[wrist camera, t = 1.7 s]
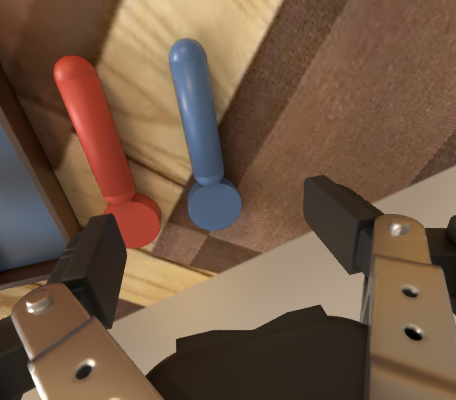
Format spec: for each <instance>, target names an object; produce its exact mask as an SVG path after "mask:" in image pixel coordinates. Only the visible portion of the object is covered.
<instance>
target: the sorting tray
mask: <svg viewBox="0 0 456 400" xmlns="http://www.w3.org/2000/svg"><path fill="white" fill-rule="evenodd" d="M79 231H83V230H82V228H81V226H80V224H79V222H78V220H77V218H76V216H75V214H74V212H73V210H72V208H71V206H70V204H69V202H68V200H67V198H66V195H65V193H64V191H63V189H62V187H61V185H60V183H59V181H58V179H57V177H56V175H55V173H54V171H53V169H52V167H51V165H50V163H49V161H48V159H47V157H46V155H45V153H44V151H43V149H42V147H41V145H40V143H39V141H38V139H37V137H36V135H35V133H34V131H33V128H32V126H31V124H30V122H29V120H28V118H27V116H26V114H25V112H24V110H23V108H22V106H21V104H20V102H19V100H18V98H17V96H16V94H15V92H14V90H13V88H12V86H11V84H10V82H9V80H8V78H7V76H6V74H5V72H4V70H3V68H2V66H1V64H0V290H4V289H8V288H13V287H17V286H22V285H26V284H30V283H35V282H39V281H44V280H48V279H49V277H50V275H51V273H52V272H53V270H54V268H55V266H56V264H57V262H58V261H59V260H60V257H61V255H62V253H63V252H65V248H66V246H67V244H68V242H69V241H70V240H71V239H72V238H73V237H74V236H75V235H76V234H77V233H78V232H79Z"/></svg>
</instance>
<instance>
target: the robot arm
mask: <svg viewBox="0 0 456 400" xmlns="http://www.w3.org/2000/svg"><path fill="white" fill-rule="evenodd" d="M303 212H304V217H305V220H306V222H307V224H308V225H309V226H310V227H311V229H312V230H313V231H314V232H315V233H316V235H317V236H318V237H319V238H320V239H321V241H322V242H323V243H324V244H325V246H326V247H327V248H328V249H329V251H330V252H331V253H332V254H333V255H334V257H335V258H336V259H337V260H338V261H339V263H340V264H341V265H342V266H343V268H344V269H345V270H346V271H347V272H348V274H349V275H351V274H356V273H360V272H363V274H364V275H365V277H364V283H363V294H362V304H361V315H360V322H358V321H354V320H352V319H347V318H343V317H337V316H327V315H326V313H325V311H324V310H323V308H322V307H321V305H317V306H313V307H308V308H304V309H300V310H296V311H292V312H287V313H285V314H283V315H281V316H279V317H277V318H276V319H274V320H272V321H270V322H268V323H266V324H264V325H262V326H261V327H258V328H256V329H254V330H212V331H208V332H204V333H199V334H195V335H192V336H187V337H183V338H179V339H176V353H174V354H172V355H170V356H169V357H167V358H165V359H164V360H162V361H161V362H160V363H159V364H157V365H156V366H155V367H154V368H153V369H152V370H151V371H150V372H149V373H148V374H147V375H146V376H144V375H143V373H142V372H141V371H140V370H139V368H138V367H137V366H136V365H135V364H134V362H133V361H132V360H131V359H130V357H128V355H127V354H126V353H125V351H124V350H123V349H122V348H121V347H120V345H119V344H118V343H117V342H116V341H115V339H114V338H113V337H112V336H111V335H110V333H109V332H108V331H107V329H111V328H112V325H113V320H114V316H115V311H116V306H117V302H118V297H119V292H120V288H121V283H122V278H123V274H124V269H125V264H126V260H127V251H126V246H125V243H124V240H123V237H122V235H121V232H120V229H119V227H118V224H117V221H116V218H115V216H114V215H113V214H112V213H109V214H104V215H98V216H93V217H91V218H90V220H89V222H88V224H87V226H86V228H85V230H84V231H79V232H78V233H77V234H76V235H75V236H74V237H73V238H72V239H71V240H70V241H69V242H68V244H67V246H66V248H65V252H63V253H62V255H61V257H60V260H59V261H58V262H57V264H56V266H55V268H54V270H53V272H52V273H51V275H50V277H49V279H48V281H47V283H46V284H45V285H43V286H40V287H38V288H36V289H34V290H32V291H31V292H29V293H28V294H26V295H25V296H24V297H22V298H21V299H20V300H19V301H18V302H17V303H16V305H15V306H14V308H13V309H12V312H11V316H8V317H6V318H4V319H1V320H0V400H21V398H22V395H23V394H24V393H25V392H27V391H29V390H31V389H33V388H35V387H36V388H37V390H38V392H39V395H40V397H41V399H42V400H456V325H455V320H454V316H453V313H454V314H455V315H456V215H455V216H453V217H451V219H450V221H449V224H448V227H447V228H424V226H423V225H422V224H421V223H419V222H418V221H417V220H415V219H413V218H410V217H407V216H403V215H398V214H386V215H385V214H384V213H382V212H381V211H380V210H378V209H377V208H376V207H374V206H373V205H372V204H370V203H369V202H368V201H366V200H364V198H362V197H361V196H359V195H357V193H355V192H354V191H353V190H351V189H350V188H348V187H345V186H343V185H340V184H336V183H334V182H333V181H332V180H330V179H329V178H328V177H326V176H325V175H320V176H315V177H309V178H306V179H305V182H304V204H303Z"/></svg>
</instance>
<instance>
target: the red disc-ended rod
mask: <svg viewBox="0 0 456 400" xmlns="http://www.w3.org/2000/svg"><path fill="white" fill-rule="evenodd" d="M53 74H54V79H55V82H56V84H57V87H58V89H59V92H60V94H61V97H62V99H63V101H64V104H65V106H66V109H67V111H68V113H69V116H70V118H71V121H72V123H73V125H74V128H75V130H76V133H77V135H78V137H79V140H80V142H81V145H82V147H83V150H84V152H85V154H86V157H87V159H88V162H89V164H90V166H91V169H92V171H93V174H94V176H95V178H96V181H97V183H98V186H99V188H100V190H101V193H102V195H103V197H104V198H105V200H106V201H108V202H109V204H108V205H107V207H106V209H105V212H104V214H109V213H112V214H113V215H114V216H115V218H116V221H117V224H118V227H119V229H120V232H121V235H122V237H123V240H124V243H125V246H126V248H140V247H143V246H146V245H148V244H150V243H151V242H152V241H153V240H154V239H155V238H156V237H157V235H158V233H159V231H160V221H161V214H160V210H159V208H158V206H157V204H156V203H155V202H154V201H153V200H152V199H150V198H149V197H147V196H145V195H142V194H139V193H135V192H136V187H135V183H134V180H133V177H132V175H131V172H130V169H129V166H128V163H127V160H126V157H125V154H124V151H123V148H122V145H121V142H120V139H119V136H118V133H117V130H116V127H115V125H114V122H113V119H112V116H111V113H110V110H109V107H108V104H107V101H106V98H105V95H104V92H103V89H102V86H101V83H100V80H99V77H98V75H97V72H96V70H95V69H94V67H93V66H92V65H91V64H90V63H89V62H88V61H87V60H85V59H83V58H81V57H79V56H73V55H70V56H65V57H63V58H61V59H60V60H58V61H57V63H56V64H55V67H54V72H53ZM104 214H103V215H104Z"/></svg>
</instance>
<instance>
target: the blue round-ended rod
mask: <svg viewBox="0 0 456 400" xmlns="http://www.w3.org/2000/svg"><path fill="white" fill-rule="evenodd" d="M169 64H170V69H171V73H172V78H173V83H174V87H175V92H176V97H177V101H178V106H179V110H180V115H181V120H182V124H183V129H184V134H185V138H186V143H187V147H188V152H189V157H190V161H191V166H192V170H193V175H194V178H195V179H196V181H197V182H196V183H195V184H194V185H193V186H192V188H191V189H190V191H189V193H188V197H187V204H188V212H189V216H190V218H191V220H192V221H193V222H194V223H195V224H196V225H197V226H199V227H200V228H203V229H206V230H220V229H223V228H226V227H228V226H230V225H231V224H232V223H233V222H235V220H236V219H237V218H238V216H239V215H240V212H241V209H242V201H241V197H240V195H239V193H238V191H237V189H236V187H235V186H234V184H233V183H232V182H231V181H229V180H228V179H226V178H223V175H224V166H223V159H222V153H221V146H220V140H219V133H218V127H217V120H216V114H215V107H214V101H213V94H212V88H211V81H210V75H209V68H208V62H207V56H206V53H205V50H204V48H203V47H202V45H201V44H200V43H199V42H197V41H196V40H193V39H190V38H183V39H180V40H178V41H176V42H175V43H174V44H173V46H172V47H171V49H170V52H169Z"/></svg>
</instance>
